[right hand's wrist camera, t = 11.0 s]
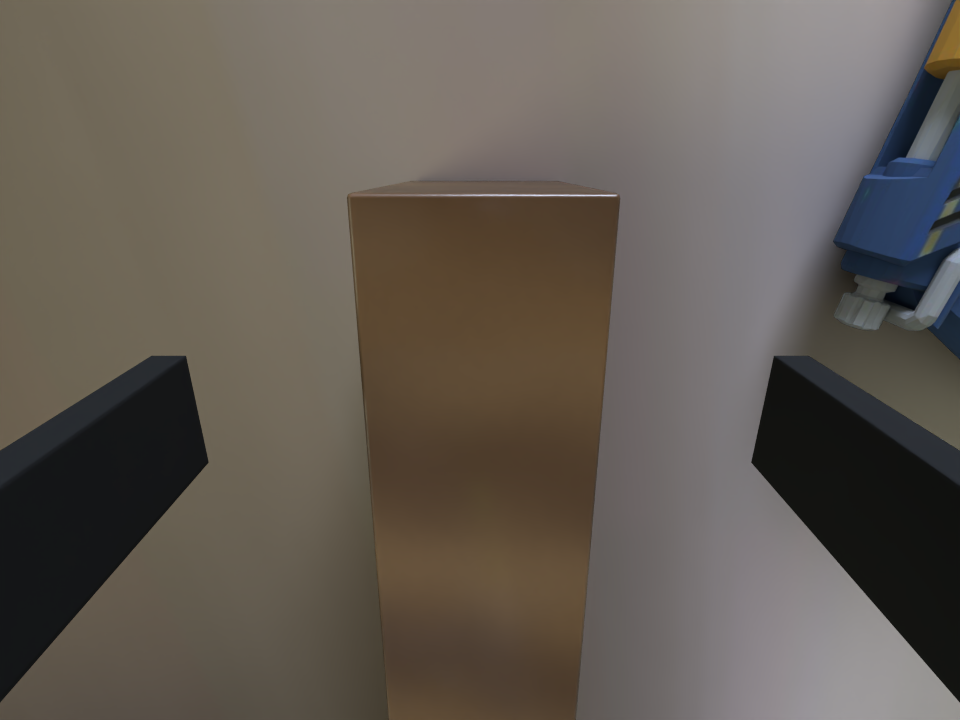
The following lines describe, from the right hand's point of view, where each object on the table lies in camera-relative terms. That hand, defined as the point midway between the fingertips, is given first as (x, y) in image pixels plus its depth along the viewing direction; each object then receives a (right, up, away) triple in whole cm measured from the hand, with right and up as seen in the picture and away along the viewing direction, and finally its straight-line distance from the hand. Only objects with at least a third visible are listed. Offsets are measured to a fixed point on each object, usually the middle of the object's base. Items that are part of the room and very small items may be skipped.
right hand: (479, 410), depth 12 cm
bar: (0, -23, +17) cm, 28 cm away
